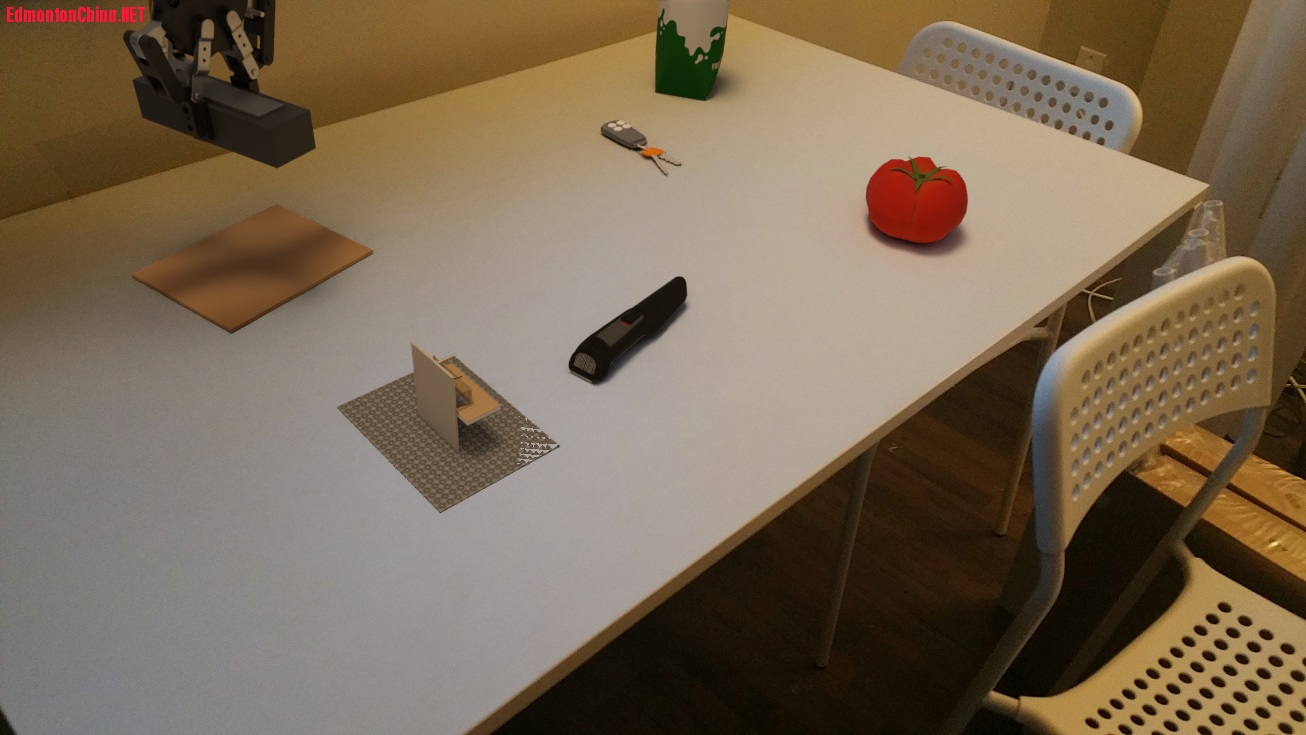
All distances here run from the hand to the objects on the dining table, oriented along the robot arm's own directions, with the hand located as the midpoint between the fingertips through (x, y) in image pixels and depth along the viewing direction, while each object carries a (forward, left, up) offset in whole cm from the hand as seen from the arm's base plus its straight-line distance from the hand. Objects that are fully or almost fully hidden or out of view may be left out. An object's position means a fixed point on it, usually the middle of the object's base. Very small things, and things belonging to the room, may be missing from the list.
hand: (226, 127), depth 87 cm
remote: (0, 0, -1) cm, 1 cm away
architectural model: (+30, -6, -14) cm, 34 cm away
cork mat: (0, 0, -14) cm, 14 cm away
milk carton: (+9, +65, -14) cm, 67 cm away
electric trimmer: (+35, +13, -14) cm, 40 cm away
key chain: (+15, +45, -14) cm, 50 cm away
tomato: (+48, +49, -14) cm, 70 cm away
